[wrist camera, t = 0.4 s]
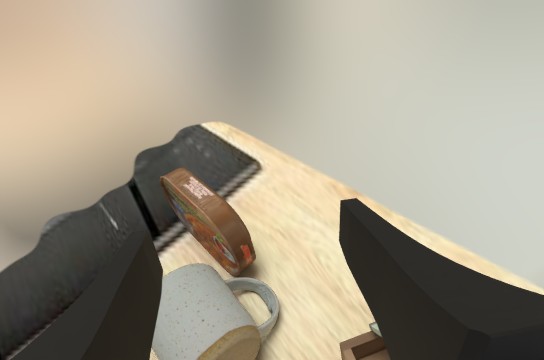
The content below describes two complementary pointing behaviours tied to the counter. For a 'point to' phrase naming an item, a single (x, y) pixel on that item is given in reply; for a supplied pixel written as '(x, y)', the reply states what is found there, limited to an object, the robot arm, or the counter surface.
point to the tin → (209, 220)
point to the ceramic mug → (208, 316)
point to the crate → (364, 348)
